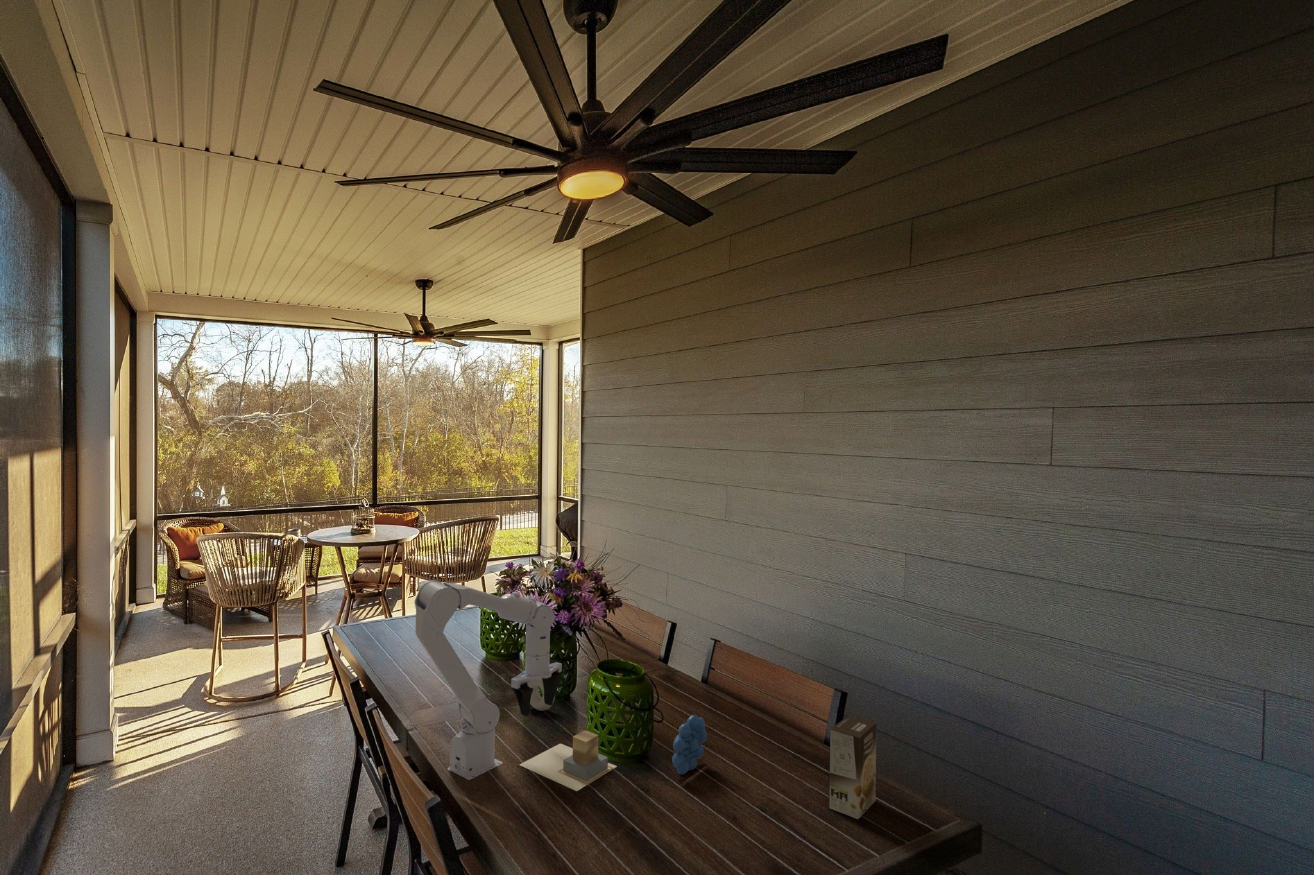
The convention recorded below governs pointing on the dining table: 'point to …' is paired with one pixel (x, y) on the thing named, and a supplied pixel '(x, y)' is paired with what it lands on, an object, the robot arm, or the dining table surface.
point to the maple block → (585, 747)
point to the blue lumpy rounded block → (689, 744)
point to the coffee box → (852, 766)
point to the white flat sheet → (559, 767)
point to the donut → (535, 697)
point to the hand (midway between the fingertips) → (537, 709)
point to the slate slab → (585, 767)
